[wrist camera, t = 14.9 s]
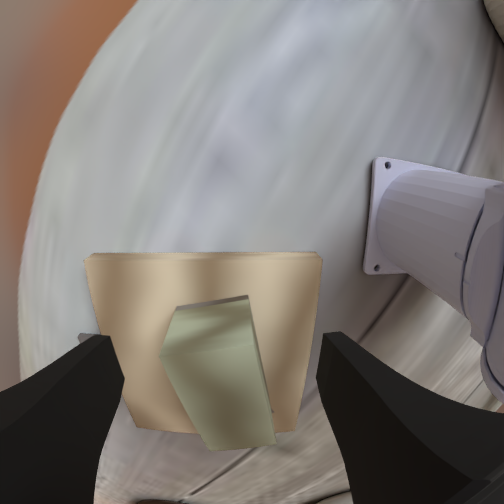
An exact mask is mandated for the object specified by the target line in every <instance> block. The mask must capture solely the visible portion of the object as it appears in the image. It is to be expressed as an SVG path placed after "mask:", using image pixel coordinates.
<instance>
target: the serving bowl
mask: <svg viewBox="0 0 504 504" xmlns="http://www.w3.org/2000/svg"><path fill="white" fill-rule="evenodd" d="M316 504H353V501H352V495H351V492H345V493H341V494H338V495H335V496H332V497H329V498H326V499H324V500H322V501H320V502H318V503H316Z"/></svg>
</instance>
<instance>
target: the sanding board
mask: <svg viewBox="0 0 504 504" xmlns="http://www.w3.org/2000/svg"><path fill="white" fill-rule="evenodd" d="M322 261H323V260H322V258H321V257H320V256H319V255H318V254H317V253H316V252H223V253H93V254H92V255H91V256H89V257H88V258H86V259H85V260H84V264H85V269H86V274H87V279H88V284H89V289H90V293H91V298H92V302H93V306H94V310H95V314H96V318H97V322H98V325H99V329H100V332H101V335H108V336H110V337H111V340H112V343H113V346H114V349H115V352H116V355H117V358H118V361H119V364H120V367H121V369H122V372H123V375H124V377H125V381H124V386H123V390H122V395H123V397H124V400H125V402H126V404H127V407H128V409H129V411H130V414H131V416H132V418H133V420H134V422H135V424H136V426H137V427H139V428H146V429H153V430H161V431H170V432H181V433H196V434H199V433H198V431H197V430H196V428H195V426H194V425H193V423H192V421H191V419H190V417H189V416H188V414H187V412H186V410H185V408H184V407H183V405H182V403H181V401H180V399H179V397H178V395H177V393H176V391H175V389H174V387H173V385H172V383H171V381H170V379H169V377H168V375H167V373H166V371H165V369H164V367H163V365H162V362H161V360H160V358H159V354H160V351H161V348H162V346H163V343H164V340H165V337H166V334H167V332H168V329H169V326H170V323H171V321H172V318H173V315H174V312H175V310H176V307H177V306H182V305H188V304H195V303H201V302H207V301H213V300H219V299H225V298H231V297H237V296H242V295H248V297H249V302H250V307H251V312H252V316H253V321H254V326H255V331H256V336H257V341H258V346H259V350H260V355H261V360H262V365H263V369H264V374H265V379H266V383H267V388H268V393H269V399H270V405H271V412H272V418H273V424H274V431H275V433H277V432H288V431H295V427H296V423H297V418H298V414H299V409H300V404H301V400H302V395H303V390H304V384H305V379H306V374H307V368H308V363H309V357H310V351H311V345H312V339H313V332H314V325H315V319H316V311H317V304H318V296H319V288H320V279H321V270H322Z"/></svg>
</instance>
